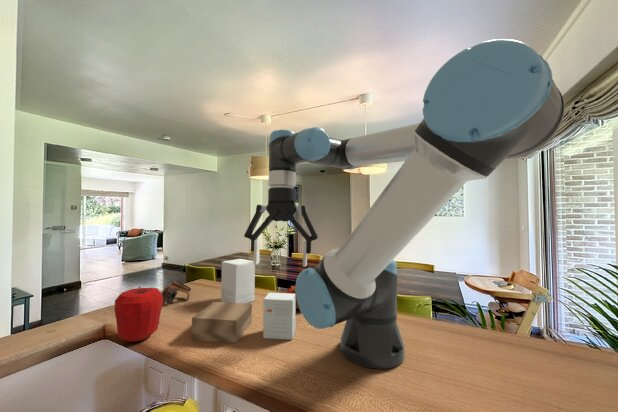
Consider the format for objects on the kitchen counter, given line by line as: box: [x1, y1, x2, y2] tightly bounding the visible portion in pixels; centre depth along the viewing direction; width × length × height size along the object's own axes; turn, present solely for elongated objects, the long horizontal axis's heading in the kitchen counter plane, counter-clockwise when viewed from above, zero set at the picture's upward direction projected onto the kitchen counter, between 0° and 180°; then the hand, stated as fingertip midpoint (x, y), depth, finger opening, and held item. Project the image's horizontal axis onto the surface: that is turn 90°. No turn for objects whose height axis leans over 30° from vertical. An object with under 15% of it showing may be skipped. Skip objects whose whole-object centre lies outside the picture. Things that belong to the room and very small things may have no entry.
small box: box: [262, 292, 296, 341], centre depth 70 cm, size 8×6×10 cm
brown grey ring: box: [161, 280, 192, 306], centre depth 93 cm, size 12×10×8 cm
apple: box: [114, 285, 163, 343], centre depth 67 cm, size 10×10×14 cm
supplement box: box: [220, 258, 256, 304], centre depth 95 cm, size 9×9×15 cm
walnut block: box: [191, 301, 253, 344], centre depth 72 cm, size 12×12×6 cm
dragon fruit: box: [282, 285, 300, 311], centre depth 89 cm, size 8×8×12 cm
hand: (280, 264), depth 71 cm, fingers open, 13 cm apart
